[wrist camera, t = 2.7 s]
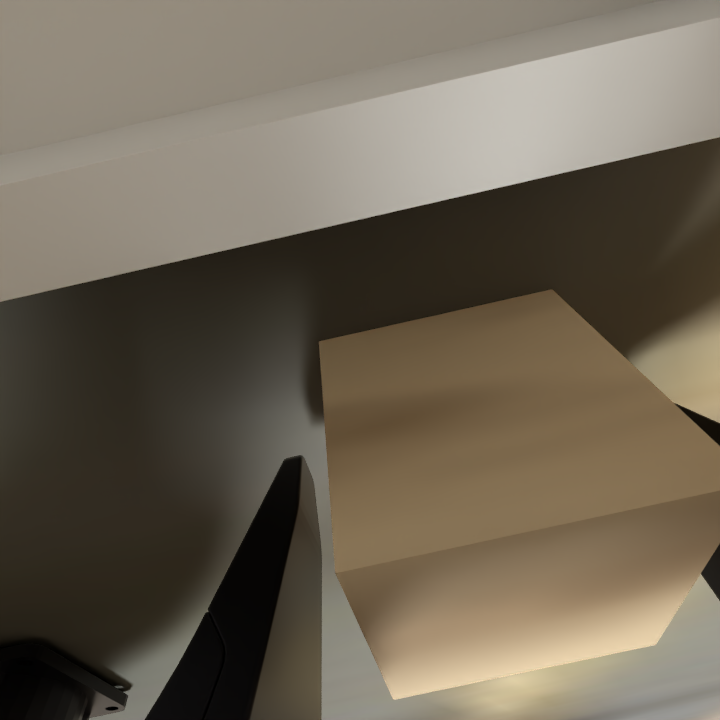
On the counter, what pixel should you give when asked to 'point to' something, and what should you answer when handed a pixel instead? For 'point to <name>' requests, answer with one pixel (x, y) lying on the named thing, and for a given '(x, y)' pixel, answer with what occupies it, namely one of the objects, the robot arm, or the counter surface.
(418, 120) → the tote
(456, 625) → the cube
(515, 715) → the counter surface
